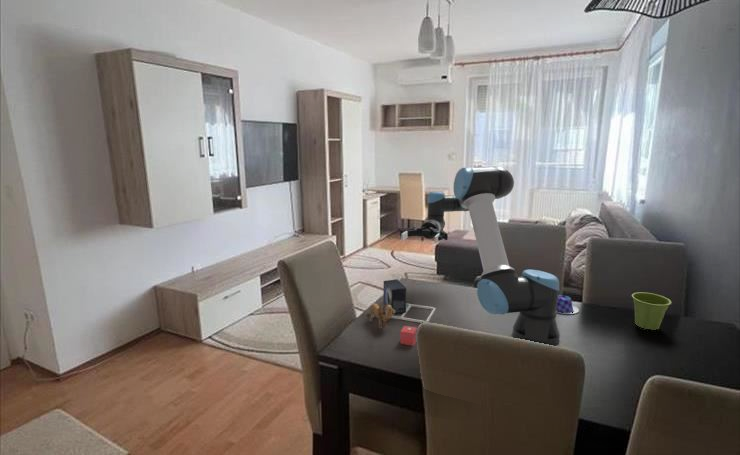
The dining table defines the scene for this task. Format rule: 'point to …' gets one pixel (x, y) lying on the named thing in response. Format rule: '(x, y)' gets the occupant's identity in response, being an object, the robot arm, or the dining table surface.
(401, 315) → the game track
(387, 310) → the lion figurine
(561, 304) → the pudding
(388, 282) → the small box
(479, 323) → the dining table surface
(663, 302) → the plant pot
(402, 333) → the red block
